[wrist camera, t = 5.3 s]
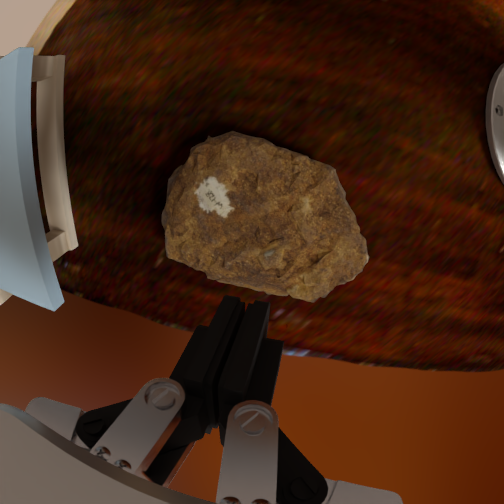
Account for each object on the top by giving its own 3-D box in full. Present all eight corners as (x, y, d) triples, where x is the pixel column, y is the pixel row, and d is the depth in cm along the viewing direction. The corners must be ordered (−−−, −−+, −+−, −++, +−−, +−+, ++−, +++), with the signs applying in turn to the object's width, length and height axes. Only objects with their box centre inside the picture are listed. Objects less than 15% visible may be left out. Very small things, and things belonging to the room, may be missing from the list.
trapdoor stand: (65, 52, 17) (-56, 56, 5) (78, 248, 26) (-11, 323, 14) (45, 60, 17) (-67, 71, 6) (60, 245, 26) (-26, 313, 15)
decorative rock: (390, 174, 19) (191, 121, 20) (408, 184, 15) (166, 120, 16) (340, 306, 23) (171, 256, 25) (343, 337, 20) (148, 277, 21)
